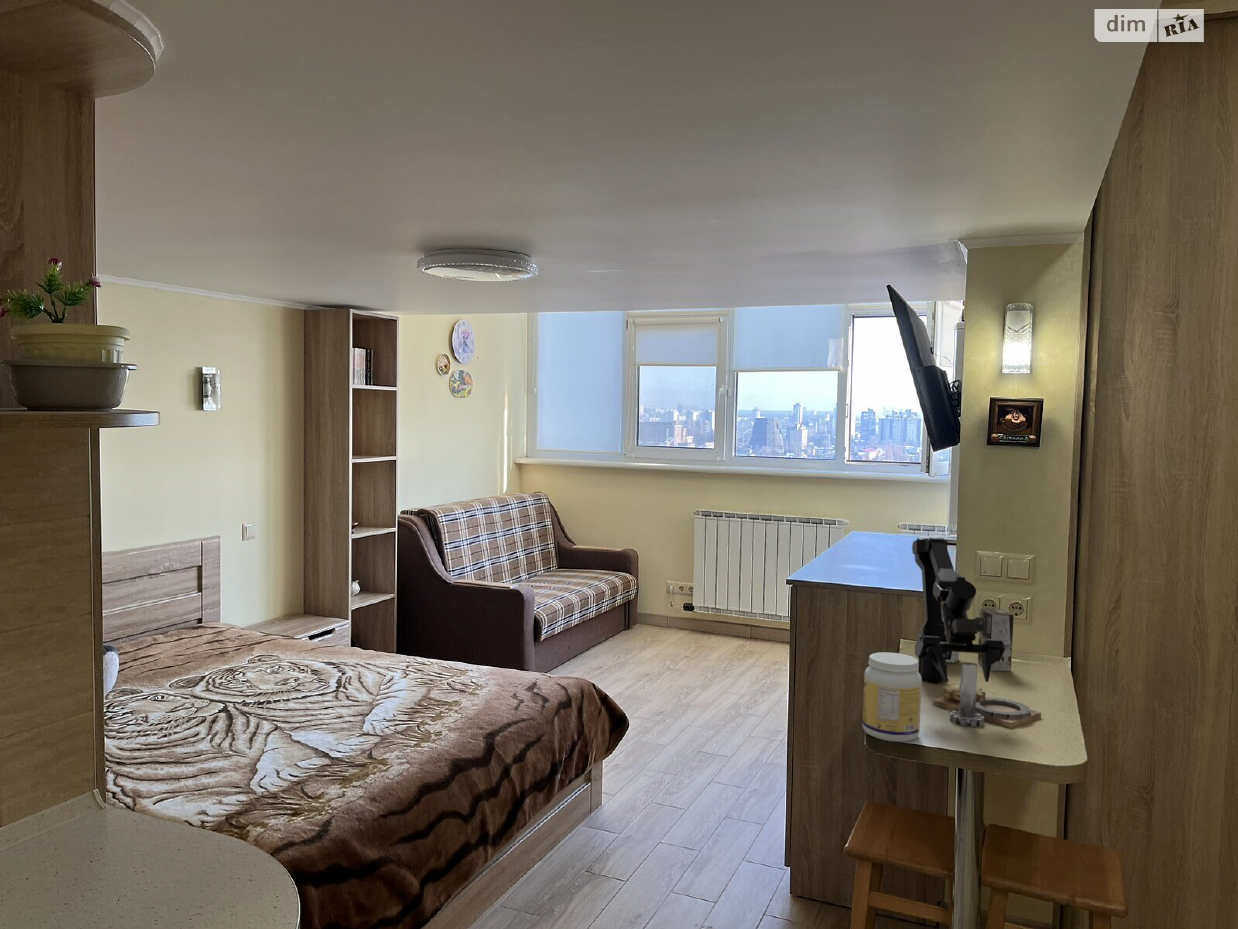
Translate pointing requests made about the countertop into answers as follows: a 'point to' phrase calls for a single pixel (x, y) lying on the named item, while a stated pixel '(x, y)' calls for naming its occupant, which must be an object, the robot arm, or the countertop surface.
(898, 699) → the supplement tub
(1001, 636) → the coffee box
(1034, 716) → the gear board
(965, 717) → the gear
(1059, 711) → the countertop surface
